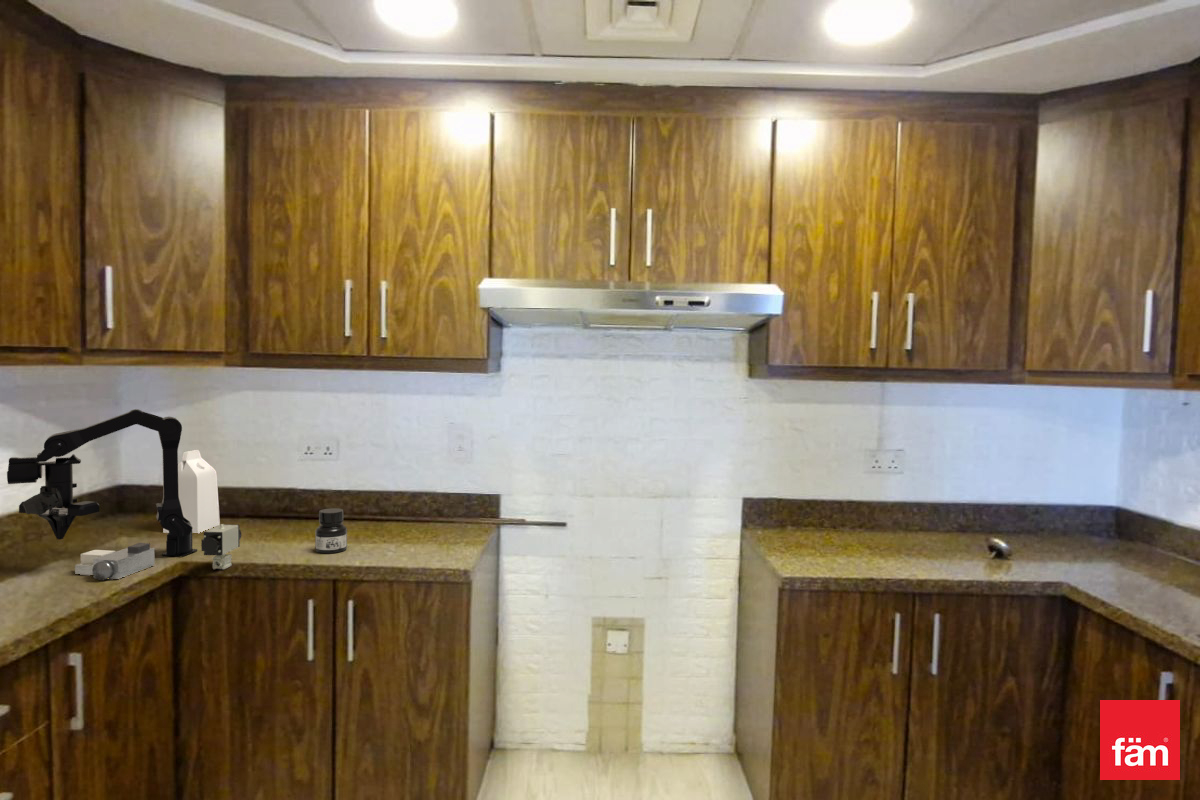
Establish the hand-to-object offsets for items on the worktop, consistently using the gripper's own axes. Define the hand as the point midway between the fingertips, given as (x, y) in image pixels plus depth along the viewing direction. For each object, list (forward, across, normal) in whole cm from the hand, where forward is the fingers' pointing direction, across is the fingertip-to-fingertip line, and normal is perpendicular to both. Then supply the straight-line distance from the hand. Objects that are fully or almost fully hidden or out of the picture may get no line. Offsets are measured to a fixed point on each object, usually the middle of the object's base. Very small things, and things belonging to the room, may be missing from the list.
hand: (60, 539), depth 181 cm
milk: (+8, +3, +45) cm, 46 cm away
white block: (+8, +11, 0) cm, 14 cm away
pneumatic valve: (+8, +40, +8) cm, 42 cm away
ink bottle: (+8, +60, +30) cm, 68 cm away
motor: (+8, +15, -1) cm, 17 cm away
